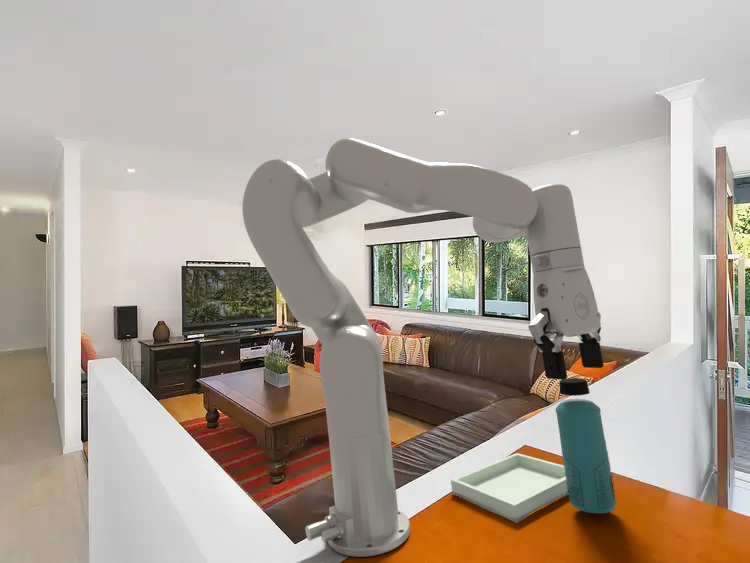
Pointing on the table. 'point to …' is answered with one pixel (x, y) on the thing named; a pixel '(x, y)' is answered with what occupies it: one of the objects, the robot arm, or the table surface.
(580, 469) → the beverage bottle
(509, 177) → the robot arm
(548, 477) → the tray
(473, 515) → the table surface
